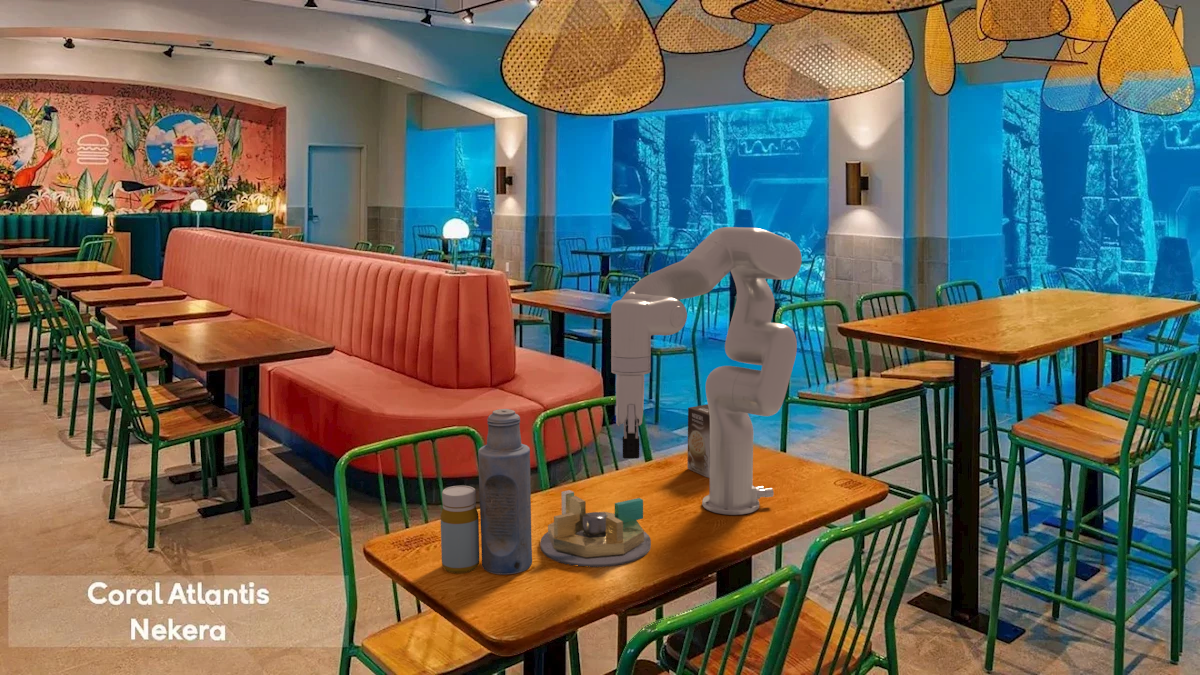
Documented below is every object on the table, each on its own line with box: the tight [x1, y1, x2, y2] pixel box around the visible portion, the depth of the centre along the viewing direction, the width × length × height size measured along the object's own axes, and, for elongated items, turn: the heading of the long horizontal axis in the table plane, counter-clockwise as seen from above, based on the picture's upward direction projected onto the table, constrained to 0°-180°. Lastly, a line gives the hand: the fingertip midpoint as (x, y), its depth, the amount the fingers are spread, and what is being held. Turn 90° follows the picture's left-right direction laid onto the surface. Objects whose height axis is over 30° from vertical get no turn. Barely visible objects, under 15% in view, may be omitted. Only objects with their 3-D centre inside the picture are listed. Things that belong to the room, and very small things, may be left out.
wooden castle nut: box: [547, 495, 645, 557], centre depth 188 cm, size 20×18×6 cm
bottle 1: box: [440, 485, 480, 574], centre depth 177 cm, size 7×7×15 cm
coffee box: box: [686, 403, 710, 479], centre depth 235 cm, size 9×6×16 cm
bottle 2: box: [477, 408, 533, 575], centre depth 177 cm, size 10×10×30 cm
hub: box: [540, 489, 652, 568], centre depth 188 cm, size 22×22×8 cm
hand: (630, 457), depth 183 cm, fingers closed
